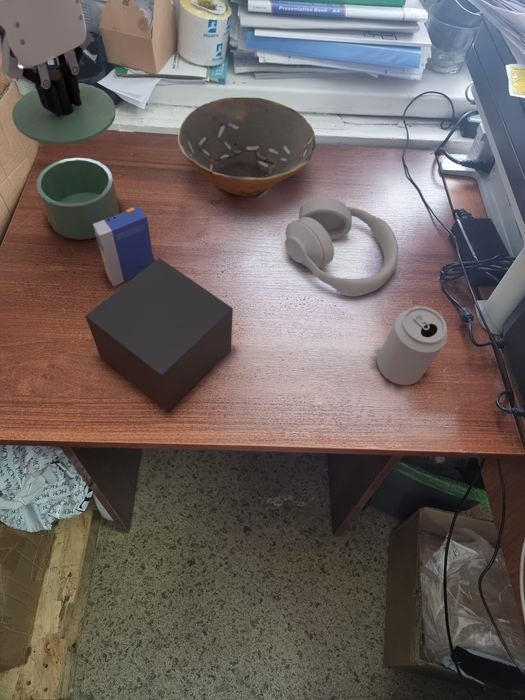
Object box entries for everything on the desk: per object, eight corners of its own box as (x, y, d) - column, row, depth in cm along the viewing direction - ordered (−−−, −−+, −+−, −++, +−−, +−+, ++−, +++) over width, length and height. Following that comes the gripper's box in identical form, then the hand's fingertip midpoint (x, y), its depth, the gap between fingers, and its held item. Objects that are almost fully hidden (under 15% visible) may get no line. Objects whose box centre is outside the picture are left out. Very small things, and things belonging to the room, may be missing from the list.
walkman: (147, 257, 88) (138, 204, 78) (154, 268, 87) (146, 215, 77) (105, 275, 85) (90, 222, 75) (112, 286, 84) (98, 234, 74)
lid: (58, 158, 64) (46, 120, 59) (-9, 113, 68) (-24, 74, 63) (136, 114, 70) (130, 76, 66) (71, 74, 74) (62, 36, 69)
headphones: (265, 265, 88) (366, 321, 87) (275, 235, 81) (384, 295, 80) (308, 203, 97) (400, 253, 96) (320, 171, 91) (419, 225, 89)
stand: (168, 413, 73) (161, 375, 63) (100, 358, 76) (84, 315, 67) (231, 350, 79) (233, 308, 70) (165, 303, 83) (159, 257, 74)
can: (400, 396, 77) (428, 355, 67) (365, 362, 80) (387, 318, 70) (432, 370, 80) (463, 327, 70) (397, 339, 83) (422, 293, 73)
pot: (81, 250, 88) (71, 217, 81) (34, 216, 91) (20, 182, 85) (133, 213, 93) (127, 180, 87) (87, 182, 97) (78, 148, 90)
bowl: (312, 150, 107) (321, 106, 99) (300, 232, 94) (309, 189, 86) (196, 131, 108) (194, 85, 99) (167, 210, 94) (163, 165, 86)
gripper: (57, -89, 57) (90, 72, 73) (-75, -51, 50) (-6, 120, 65) (102, -68, 55) (127, 94, 71) (-29, -24, 48) (31, 145, 63)
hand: (62, 105), depth 68 cm, fingers closed on lid, 2 cm apart
